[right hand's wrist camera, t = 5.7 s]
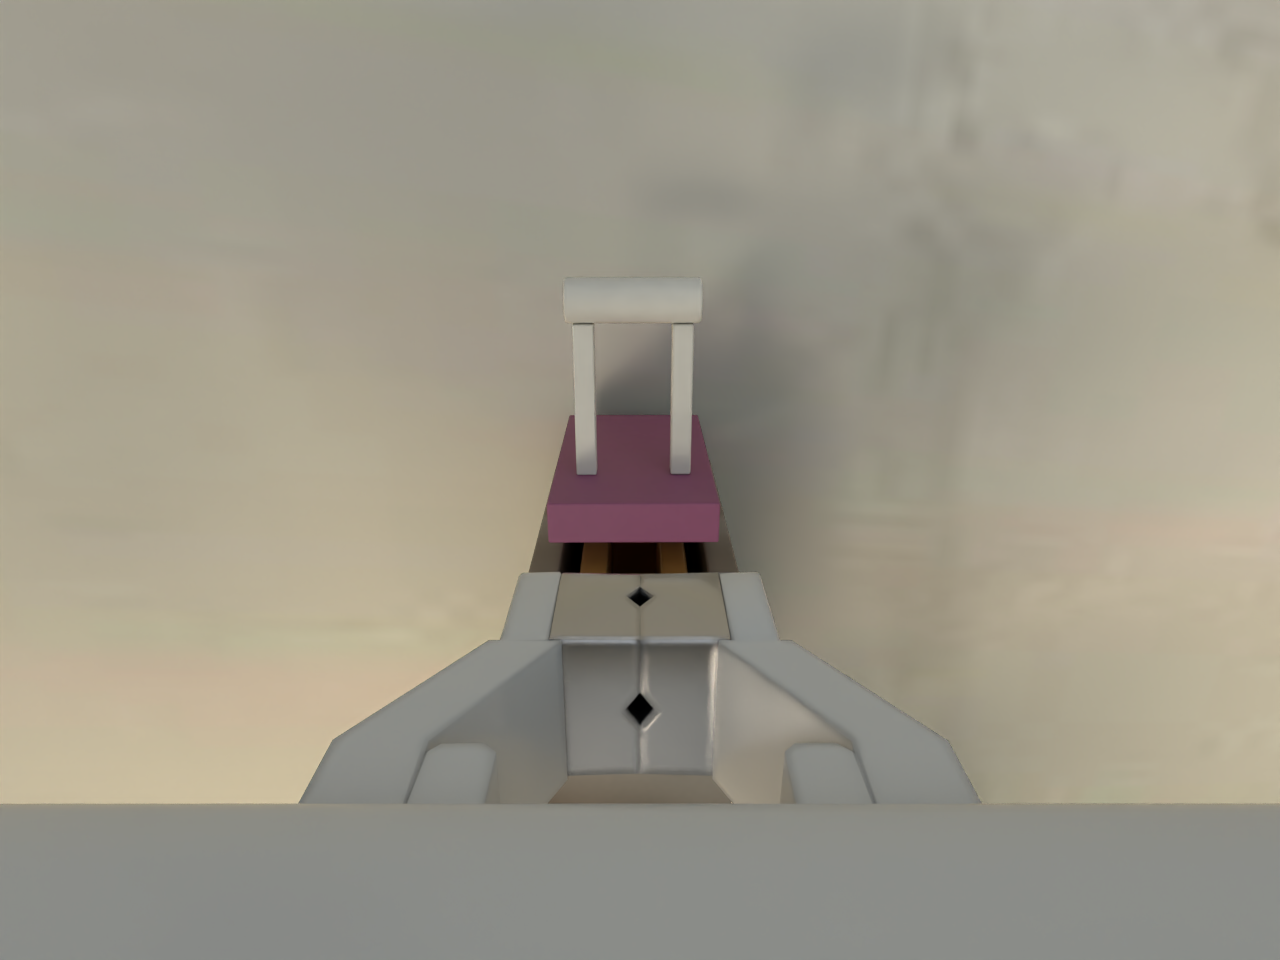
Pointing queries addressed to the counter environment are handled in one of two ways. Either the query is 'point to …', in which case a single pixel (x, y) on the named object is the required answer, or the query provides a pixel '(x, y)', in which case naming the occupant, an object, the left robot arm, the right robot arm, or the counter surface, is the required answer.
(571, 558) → the cabinet
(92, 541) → the counter surface
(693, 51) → the counter surface
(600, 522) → the drawer
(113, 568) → the counter surface
